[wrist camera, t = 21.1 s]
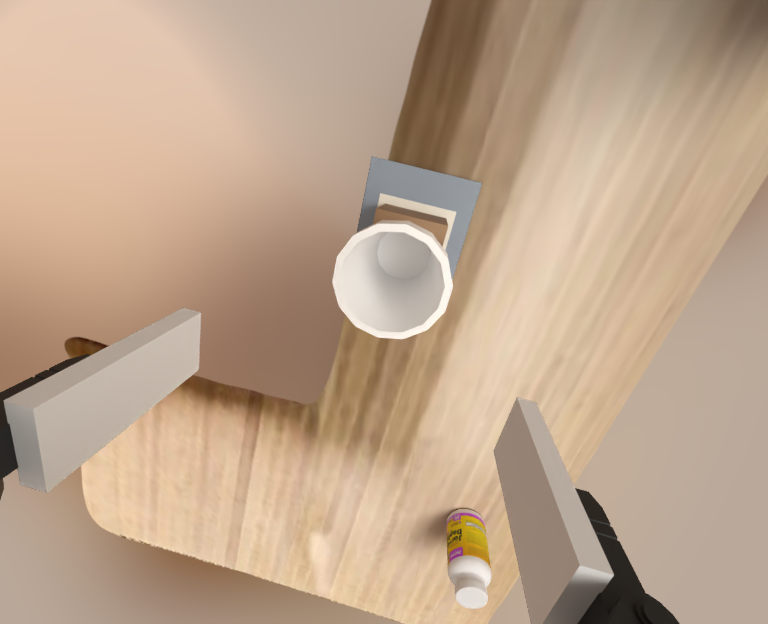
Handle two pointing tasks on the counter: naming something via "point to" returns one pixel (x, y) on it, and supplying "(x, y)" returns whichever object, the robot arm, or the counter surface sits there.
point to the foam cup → (393, 279)
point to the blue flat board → (422, 199)
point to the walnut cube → (414, 219)
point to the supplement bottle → (468, 558)
